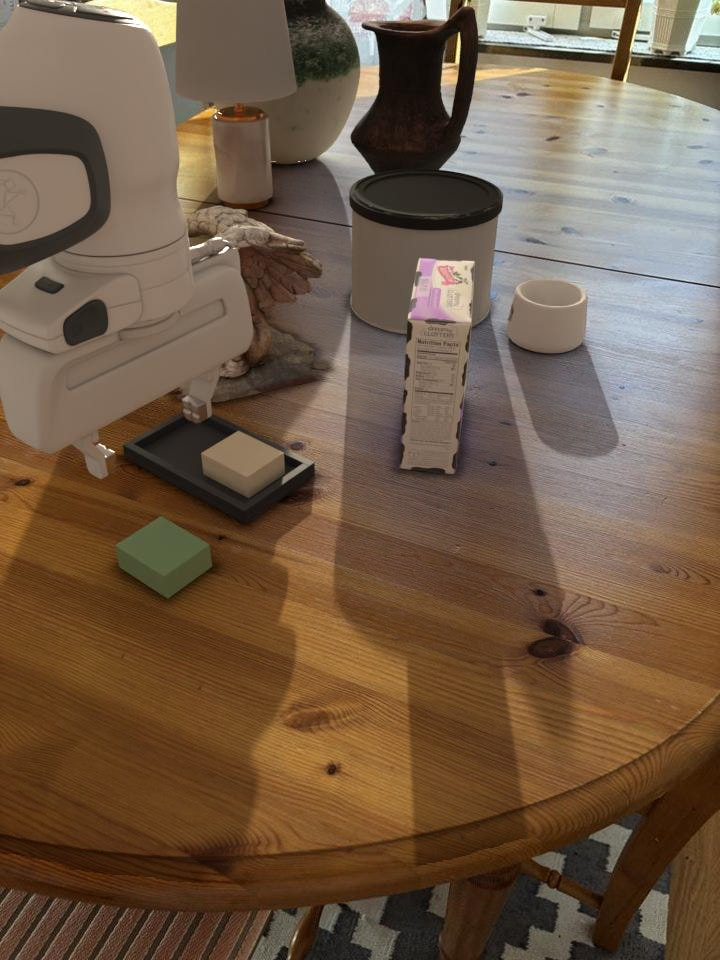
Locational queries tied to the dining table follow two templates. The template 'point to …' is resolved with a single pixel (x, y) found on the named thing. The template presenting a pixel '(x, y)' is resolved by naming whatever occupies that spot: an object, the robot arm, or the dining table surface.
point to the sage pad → (164, 556)
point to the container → (418, 238)
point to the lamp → (236, 85)
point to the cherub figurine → (261, 303)
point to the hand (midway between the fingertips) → (153, 444)
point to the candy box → (436, 364)
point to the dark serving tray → (180, 463)
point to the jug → (417, 93)
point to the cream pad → (243, 464)
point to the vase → (313, 84)
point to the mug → (548, 316)
